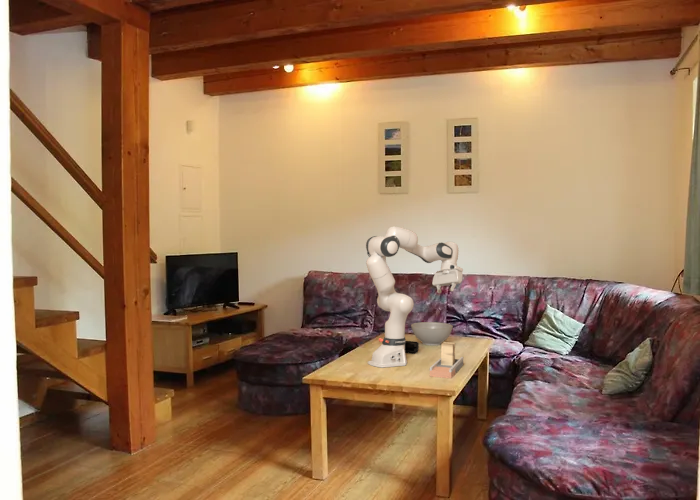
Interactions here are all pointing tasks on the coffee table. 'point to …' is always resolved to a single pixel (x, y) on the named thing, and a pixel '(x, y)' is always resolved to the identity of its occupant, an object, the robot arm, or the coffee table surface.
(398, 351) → the robot arm
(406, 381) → the coffee table surface
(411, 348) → the end cap
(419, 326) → the decorative bowl
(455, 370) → the lane
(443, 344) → the block
